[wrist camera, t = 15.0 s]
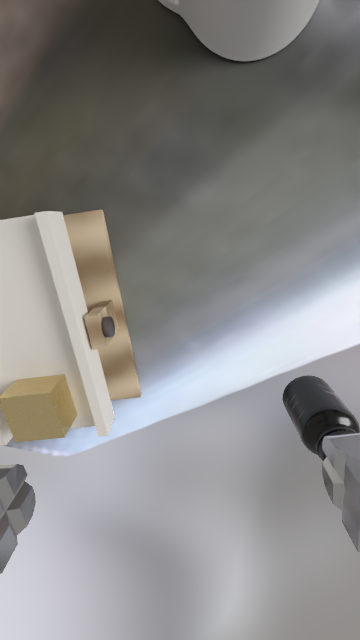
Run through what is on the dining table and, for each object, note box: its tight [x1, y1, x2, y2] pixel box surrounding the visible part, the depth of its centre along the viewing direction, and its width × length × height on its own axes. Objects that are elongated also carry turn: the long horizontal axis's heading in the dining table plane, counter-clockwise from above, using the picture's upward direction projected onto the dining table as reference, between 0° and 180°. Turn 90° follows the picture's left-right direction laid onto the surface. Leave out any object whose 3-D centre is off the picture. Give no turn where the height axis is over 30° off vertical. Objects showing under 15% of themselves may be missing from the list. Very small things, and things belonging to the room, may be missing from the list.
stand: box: [63, 210, 141, 400], centre depth 36 cm, size 26×20×8 cm
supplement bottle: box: [283, 376, 360, 461], centre depth 37 cm, size 7×7×12 cm
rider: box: [0, 374, 77, 442], centre depth 34 cm, size 6×6×4 cm
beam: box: [0, 211, 115, 445], centre depth 33 cm, size 26×14×4 cm, turn 8°
